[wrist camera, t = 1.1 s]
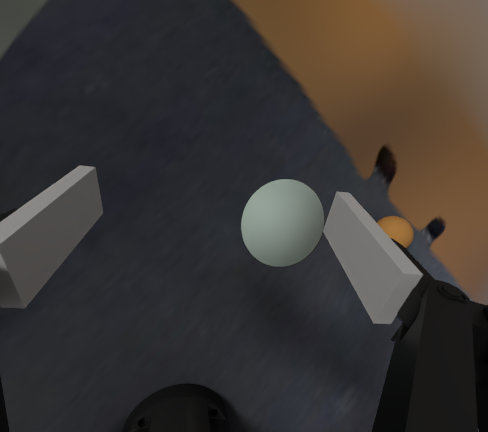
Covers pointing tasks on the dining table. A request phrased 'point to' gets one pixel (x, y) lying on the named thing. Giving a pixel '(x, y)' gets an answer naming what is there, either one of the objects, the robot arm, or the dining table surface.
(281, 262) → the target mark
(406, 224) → the ball
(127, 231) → the dining table surface
